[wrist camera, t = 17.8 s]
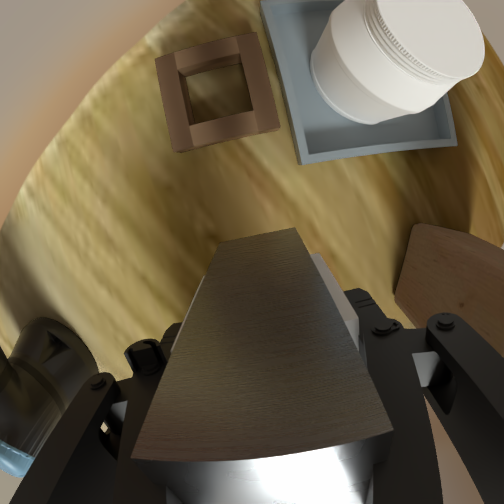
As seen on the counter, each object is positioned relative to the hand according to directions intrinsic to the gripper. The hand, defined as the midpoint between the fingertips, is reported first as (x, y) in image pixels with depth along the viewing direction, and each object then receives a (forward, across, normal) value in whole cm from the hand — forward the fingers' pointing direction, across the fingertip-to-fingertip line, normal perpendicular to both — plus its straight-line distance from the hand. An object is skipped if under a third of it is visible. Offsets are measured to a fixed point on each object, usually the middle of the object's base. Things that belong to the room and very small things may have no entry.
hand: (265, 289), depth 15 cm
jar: (+16, +14, +14) cm, 25 cm away
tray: (+16, +14, +14) cm, 25 cm away
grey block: (+3, 0, 0) cm, 3 cm away
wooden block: (+16, +20, -9) cm, 27 cm away
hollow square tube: (+16, -1, +14) cm, 22 cm away
